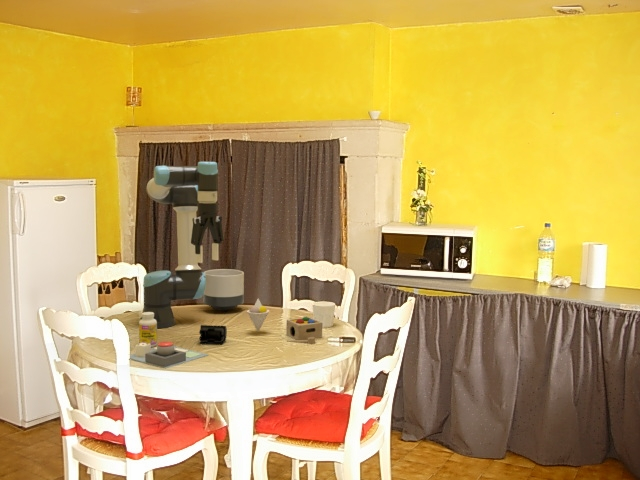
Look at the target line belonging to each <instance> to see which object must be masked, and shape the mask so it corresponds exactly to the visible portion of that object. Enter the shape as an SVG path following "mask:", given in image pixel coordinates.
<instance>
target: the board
mask: <svg viewBox="0 0 640 480" xmlns="http://www.w3.org/2000/svg"><path fill="white" fill-rule="evenodd" d="M156 350H157V346H154V347H152V348H151V352H153V351H156ZM174 350H178V351H182V352H186V361H183V362H180V363H177V364H173V365H170V366H167V367H162V366H159V365H155V364H152V363H148V362H145V357H140V356H135V352H134V353H132V354H129V355H130V359H131V360H130V359H129V360H130V361H134V362H139V363H142V364H146V365H150V366H153V367H154V366H155V367H157V368H158V367H159V368H162V369H169V368H172V367H175V366H179V365H182V364H185V363H188V362H192V361H194V360H198V359H201V358H205V357H208V356H209V354H208V353H203V352H199V351H196V350H192V349H187V348H183V347H180V346H175V345H174Z"/></svg>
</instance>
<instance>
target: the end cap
mask: <svg viewBox="0 0 640 480" xmlns="http://www.w3.org/2000/svg"><path fill="white" fill-rule="evenodd" d="M227 331H228V330H227V326H226V325H211V324H210V325H209V324H206V325H204V324H203V325H202V324H201V325H200V329H199V331H198V334H199V335H200V336H199V338H198V339H199V345H200V344H202V345H203V346H205V345H206V346H208V345H209V346H211V345H212V346H222V345H224V343H225V342H226V340H227Z"/></svg>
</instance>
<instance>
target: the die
mask: <svg viewBox="0 0 640 480" xmlns="http://www.w3.org/2000/svg"><path fill="white" fill-rule="evenodd" d="M134 349H135V351H134V353H135V356H140V357H145V353H149V352H151V349H152V347H151V344H149V343H139V342H138V343H137V344H135V348H134Z"/></svg>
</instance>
